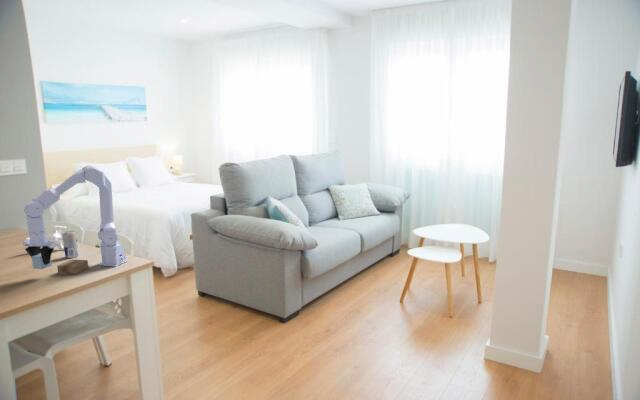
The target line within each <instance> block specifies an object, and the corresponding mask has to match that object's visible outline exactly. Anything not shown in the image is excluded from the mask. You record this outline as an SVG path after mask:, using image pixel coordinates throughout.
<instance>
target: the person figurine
mask: <svg viewBox="0 0 640 400" xmlns="http://www.w3.org/2000/svg"><path fill="white" fill-rule="evenodd" d="M58 229H65V230H66V229H67V226H66V225H65V226H61V225H53V226H52V229H51V232H52V233H50V234H48V235H47V234H46V237H47V240H48V241H51V242H55V245H56V247H57V248H58V249H59V250H61V251H64V245H63V242H61V241H63V237H62V235H60V233H59V232H58ZM27 240H28V241H30V238H29V237H26V238H25V239H24V241H27ZM41 248H43V247H41ZM25 254H29V253H28V252H27V251H26V252H25Z"/></svg>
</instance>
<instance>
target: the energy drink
mask: <svg viewBox="0 0 640 400" xmlns="http://www.w3.org/2000/svg"><path fill="white" fill-rule="evenodd" d="M61 234H62V235H61V236H62V237H63V240H62V245H63V247H64V250H63V251H64V257H65V258H66V259H74V258H73V257H75V258H77V257H78V256H79V250H78V243H77V235H76V232H75V230H68V231H63V232H62V233H61Z"/></svg>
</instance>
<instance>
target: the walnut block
mask: <svg viewBox="0 0 640 400" xmlns="http://www.w3.org/2000/svg"><path fill="white" fill-rule="evenodd" d="M56 267H57V274H58V275H72V276H75V275H78V274H81V273H82V272H84V271H86V270H88V269H89V262H88V259H69V260H67V261H65V262H62V263H60V264H58V265H57V266H56Z"/></svg>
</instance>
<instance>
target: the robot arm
mask: <svg viewBox="0 0 640 400" xmlns="http://www.w3.org/2000/svg"><path fill="white" fill-rule="evenodd" d="M87 181H88V182H89V183H92V184H93V185H94V186H96V187H98V193H99V195H98V196H99V208H100V210H99V211H100V213H99V214H100V224H99V232H98V236H97V237H98V238H99V240H100V241H101V242H100V244H99V245H100V247H99V248H100V254H101V262H99V263H98V264H97V265H98V266H101V267H102V266H105V267H113V268H114V267H118V266H120V265H122V264H124V263H126V262H128V259H127V257H126V249H125V246H124V245H123V244H120V243H119V234H118V233H117V231H116V226H115V223H114V205H113V203H114V202H113V188H112V182H111V180H110V179H109V178H108V177H107V176H106V174H105V172H104V171H102V170H100V169H99V168H97V167H93V166H92V165H85V166H83V167H82V169H78V170H77V171H76V172H74V173H72V174H71V175H70V176H69V177H68V178H66V179H65V180H64V181H63V182H62V183H60V184H59V185H57V186H56V187H55V188H48V189H44V190H43V191H42V193H41V194H40V195H38V196H37V197H36V198H32V201H30V202H27V203H26V204H25V206H24V209H23V211H24V213H25V214H26V220H27V221H26V224H27V231H28V238H30V241H28V240H27V241H25V240H24V241H22V245H23V247H25V251H26V252H28V253H27V254H28V255H29V257H30V258H31V259H32V256H35V255H38V254H41V256H42V259H43V263H44V265H47V264H49V263H50V258H51V257H52V253H53V251H54V249H55V248H56V247H57V246H56V245H55V242H51V241H48V240H47V237H46V236H47V233H46V226H45V220H44V217H43V214H44V211H45V210H48V209H49V208H50V207H52V206H53V205H54V204H56V203H57V202H58V201H60V199H61V195H62V194H65V192H66V191H68V190H70V189H71V188H72V187H74V186H75V185H77V184H84V183H87ZM42 247H43V248H42ZM51 259H52V258H51Z"/></svg>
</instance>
